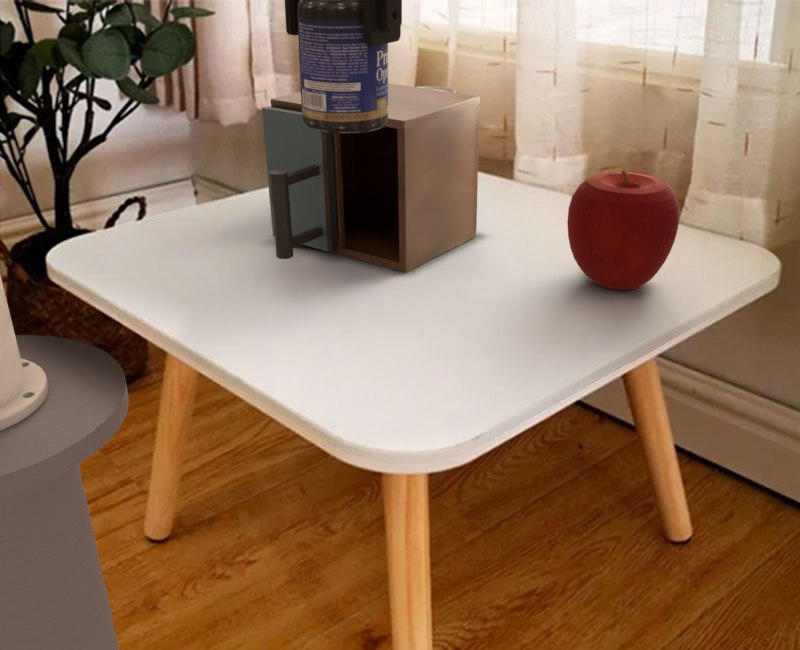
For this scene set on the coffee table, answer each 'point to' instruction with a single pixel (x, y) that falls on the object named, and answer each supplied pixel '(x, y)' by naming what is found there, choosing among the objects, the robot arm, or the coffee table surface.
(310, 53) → the pill bottle
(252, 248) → the coffee table surface
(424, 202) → the cabinet
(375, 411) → the coffee table surface
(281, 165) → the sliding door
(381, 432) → the coffee table surface
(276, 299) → the coffee table surface
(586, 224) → the apple
